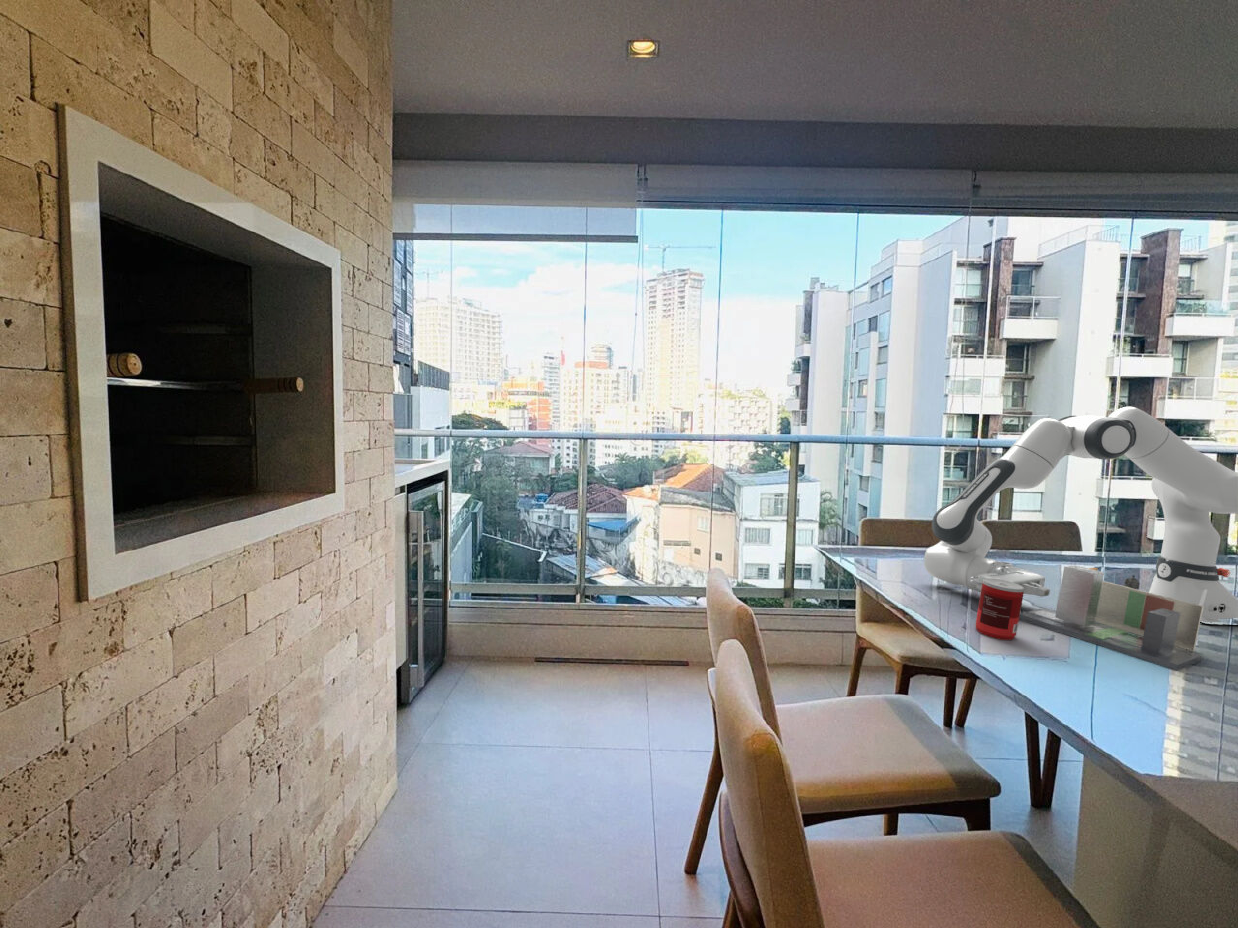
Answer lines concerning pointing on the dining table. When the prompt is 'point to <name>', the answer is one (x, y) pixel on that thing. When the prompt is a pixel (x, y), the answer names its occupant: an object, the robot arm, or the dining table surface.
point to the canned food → (999, 608)
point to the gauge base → (1135, 625)
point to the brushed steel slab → (1079, 595)
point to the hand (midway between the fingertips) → (1046, 593)
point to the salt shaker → (1132, 583)
